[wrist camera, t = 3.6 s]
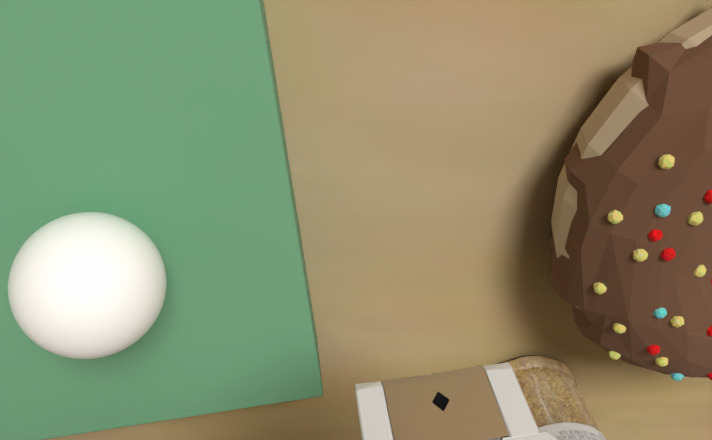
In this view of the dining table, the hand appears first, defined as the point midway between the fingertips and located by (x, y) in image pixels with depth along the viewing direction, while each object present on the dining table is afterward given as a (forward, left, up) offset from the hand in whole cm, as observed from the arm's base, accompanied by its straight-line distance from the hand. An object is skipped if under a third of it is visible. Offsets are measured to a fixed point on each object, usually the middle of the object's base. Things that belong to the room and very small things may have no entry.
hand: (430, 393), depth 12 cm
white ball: (0, -7, -5) cm, 9 cm away
